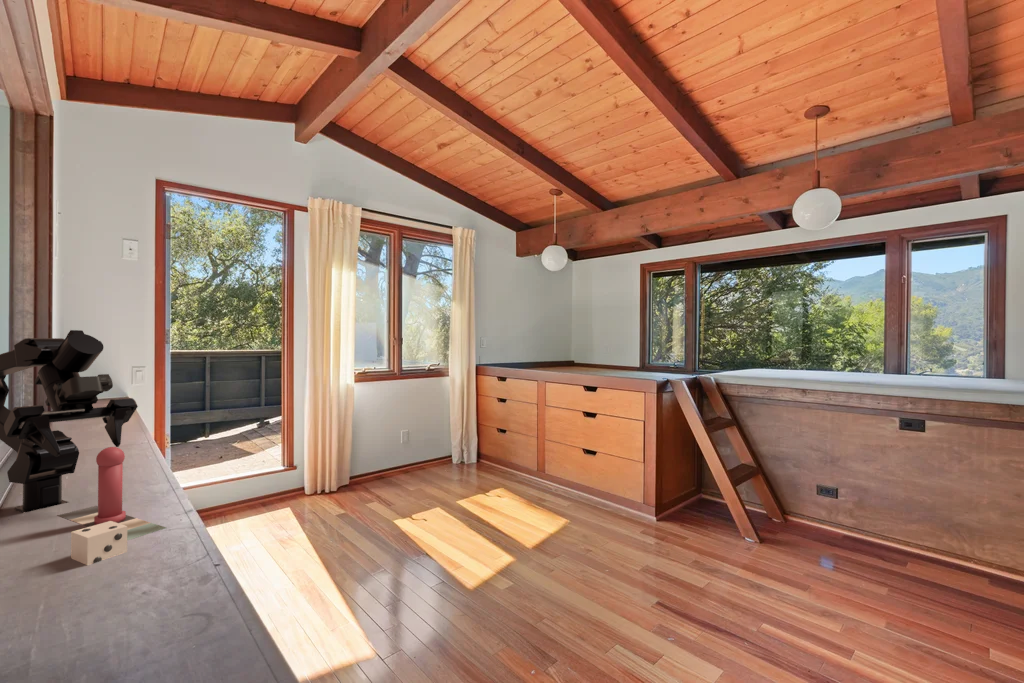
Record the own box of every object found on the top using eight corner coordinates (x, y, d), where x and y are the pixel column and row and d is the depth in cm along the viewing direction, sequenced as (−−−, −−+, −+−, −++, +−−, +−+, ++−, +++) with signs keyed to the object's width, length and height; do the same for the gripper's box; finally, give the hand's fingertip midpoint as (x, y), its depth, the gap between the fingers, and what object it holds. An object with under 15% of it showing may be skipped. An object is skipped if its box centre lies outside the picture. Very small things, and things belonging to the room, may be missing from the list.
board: (54, 521, 89) (54, 516, 89) (98, 510, 95) (98, 505, 95) (124, 547, 78) (124, 541, 78) (169, 532, 84) (169, 526, 84)
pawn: (89, 523, 86) (89, 448, 86) (118, 515, 90) (118, 443, 90) (101, 527, 84) (102, 450, 84) (130, 519, 88) (131, 446, 88)
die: (71, 564, 72) (71, 531, 72) (110, 551, 76) (110, 520, 76) (87, 571, 70) (87, 537, 70) (127, 558, 74) (127, 525, 74)
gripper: (12, 362, 84) (38, 431, 79) (134, 359, 101) (161, 417, 96) (-7, 402, 88) (16, 471, 83) (114, 393, 104) (139, 450, 99)
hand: (89, 450), depth 90 cm, fingers open, 9 cm apart
